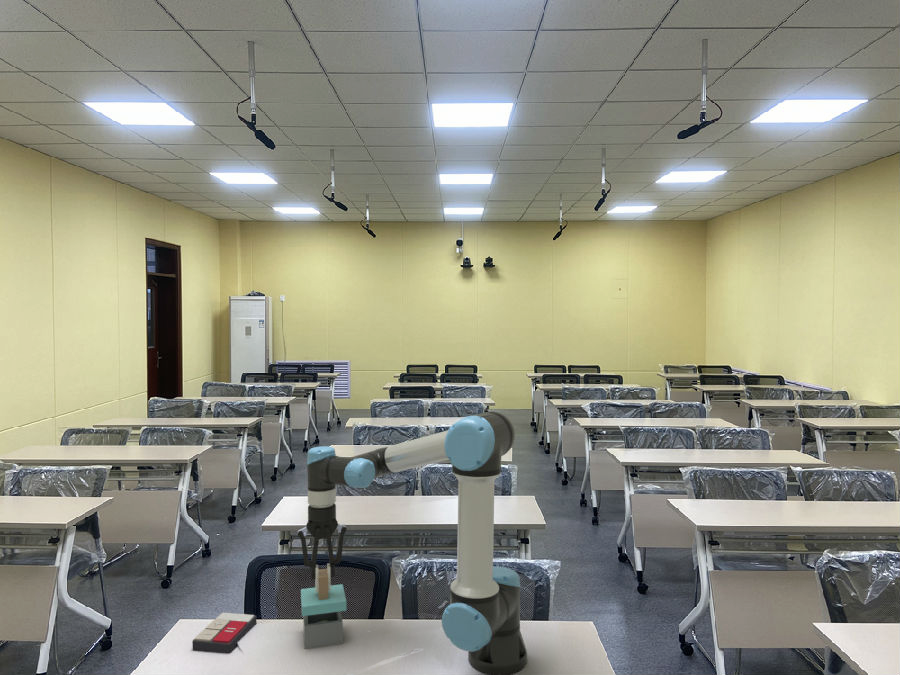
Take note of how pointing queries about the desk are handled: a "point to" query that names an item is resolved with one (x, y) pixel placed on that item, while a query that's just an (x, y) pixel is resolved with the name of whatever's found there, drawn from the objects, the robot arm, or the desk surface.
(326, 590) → the lid
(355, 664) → the desk surface
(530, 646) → the desk surface
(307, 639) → the storage box
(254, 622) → the calculator
